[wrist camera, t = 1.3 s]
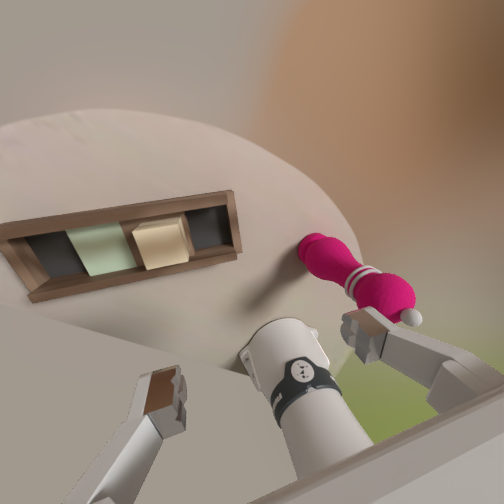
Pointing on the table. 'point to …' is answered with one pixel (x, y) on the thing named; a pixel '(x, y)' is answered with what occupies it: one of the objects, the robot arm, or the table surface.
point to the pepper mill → (359, 279)
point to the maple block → (162, 242)
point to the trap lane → (115, 244)
